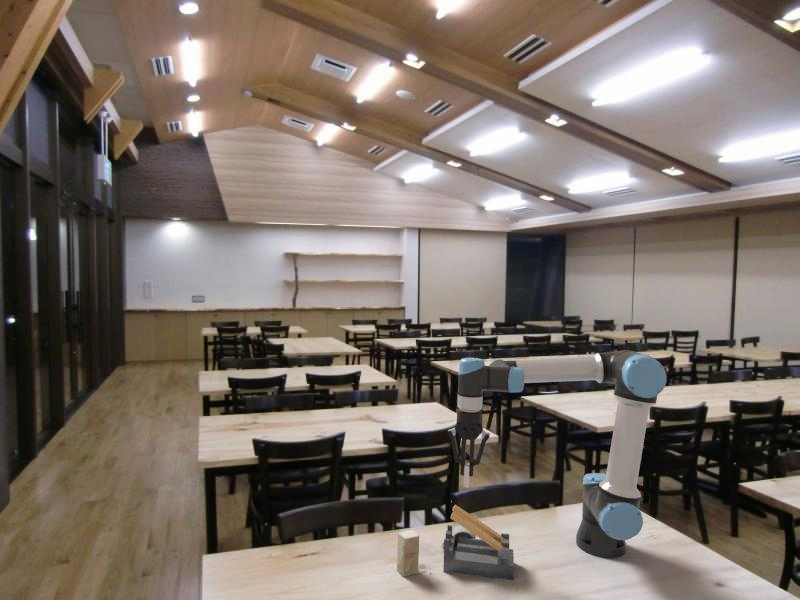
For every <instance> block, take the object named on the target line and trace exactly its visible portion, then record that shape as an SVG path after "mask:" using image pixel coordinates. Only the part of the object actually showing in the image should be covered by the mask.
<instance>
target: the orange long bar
mask: <svg viewBox="0 0 800 600" xmlns="http://www.w3.org/2000/svg"><path fill="white" fill-rule="evenodd" d="M451 511H452V513H453V512H455V513H456V514H458V515H459V516H461V517H462V518H464V519H465V520H466V521H468V522H469V523H471V524H472V525H474V526H475V527H477V528H478V529H480V530H481V531H483V532H484V533H486V534H487V535H489V536H490V537H492V538H493V539H495V540H496V541H498V542H499V543H500V544H501V539H507V538H505V537H503V536H501V533H498V532H497V531H495V530H494V529H492V528H491V527H489V526H488V525H486V524H485V523H484V522H482V521H480V520H479V519H477V518H476V517H475V516H473V515H472V514H470V513H469V512H467V511H466V510H465V509H462V508H461V507H460V506H458V505H457V504H454V506H452V510H451ZM507 540H508V539H507Z"/></svg>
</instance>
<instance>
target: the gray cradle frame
mask: <svg viewBox="0 0 800 600" xmlns="http://www.w3.org/2000/svg"><path fill="white" fill-rule="evenodd" d="M500 535H501V536H503V537H505V538H507V539H508V540H507V539H501V543H500V544H502V545H503V546H507V547H508V548H501V552H499V551H498V550H496V549H495V548H493V547H492V546H490V545H489V544H487V543H486V542H485V541H483V540H482V539H480V538H476V539H472V538H463V537H459V543H455V547H454V552H453V557H452V559H446V558H444V557H443V572H444V573H451V574H457V575H467V576H474V577H476V576H477V577H484V578H491V579H492V578H493V579H500V580H508V581H509V580H510V581H514V579H515V578H514V575H515V572H514V571H515V567H514V566H515V563H514V557H515V556H514V549H513V548H512V549H511V548H510V533H504V532H501V533H500ZM497 542H498V541H497Z"/></svg>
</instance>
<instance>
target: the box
mask: <svg viewBox="0 0 800 600" xmlns="http://www.w3.org/2000/svg"><path fill="white" fill-rule="evenodd" d="M419 552H420V535H419V534H418V533H417V532H416V531H414V530H413V529H411V530H405V531H401V532H398V533H397V553H396V554H397V556H396V561H397V562H396V570H397V572H398V573H399V574H400V575H401V576H402V577H408V576H413V575H416V574H419V557H420V556H419V554H420V553H419Z"/></svg>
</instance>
